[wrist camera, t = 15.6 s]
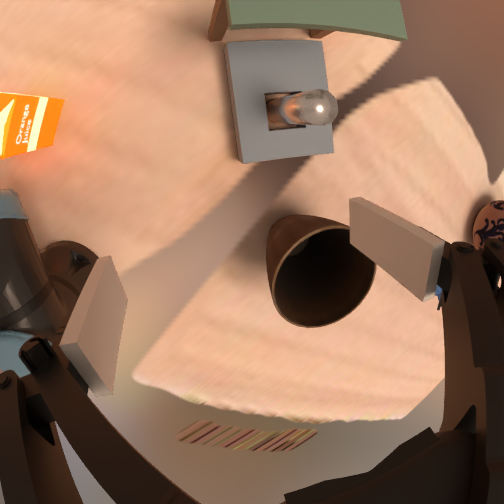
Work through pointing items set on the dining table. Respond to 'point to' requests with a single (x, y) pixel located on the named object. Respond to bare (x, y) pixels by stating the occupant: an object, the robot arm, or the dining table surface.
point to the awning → (311, 17)
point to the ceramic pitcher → (489, 224)
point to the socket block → (274, 82)
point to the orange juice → (27, 122)
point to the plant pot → (315, 270)
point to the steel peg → (303, 108)
